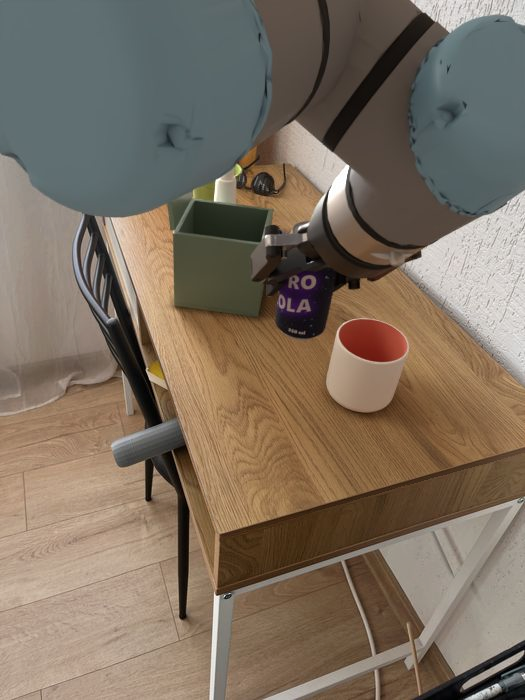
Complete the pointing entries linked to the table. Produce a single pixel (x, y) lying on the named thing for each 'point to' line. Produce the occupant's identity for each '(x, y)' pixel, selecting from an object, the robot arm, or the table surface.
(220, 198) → the cosmetic bottle
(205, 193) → the plant pot
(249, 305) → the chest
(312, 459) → the table surface
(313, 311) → the beverage can
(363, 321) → the cup
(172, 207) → the lid
